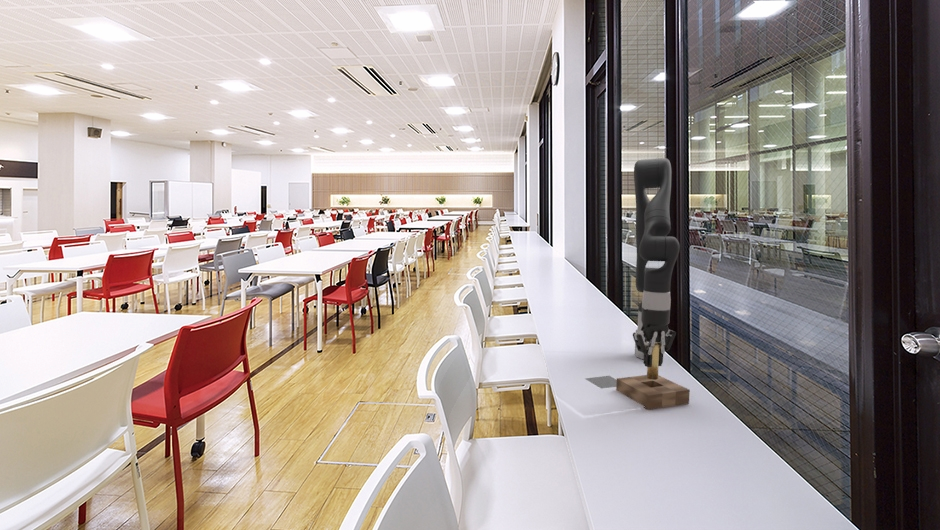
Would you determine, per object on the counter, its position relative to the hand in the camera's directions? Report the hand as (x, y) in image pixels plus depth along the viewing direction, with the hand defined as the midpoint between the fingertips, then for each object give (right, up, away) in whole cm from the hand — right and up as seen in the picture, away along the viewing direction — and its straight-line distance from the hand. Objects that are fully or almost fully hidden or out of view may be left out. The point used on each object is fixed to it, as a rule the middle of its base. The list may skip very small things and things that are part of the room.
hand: (652, 365), depth 140 cm
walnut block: (0, -9, +1) cm, 9 cm away
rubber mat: (-10, -8, +12) cm, 18 cm away
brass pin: (0, -4, 0) cm, 4 cm away
